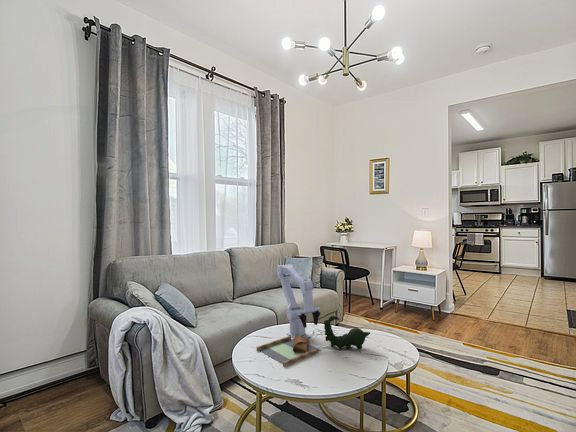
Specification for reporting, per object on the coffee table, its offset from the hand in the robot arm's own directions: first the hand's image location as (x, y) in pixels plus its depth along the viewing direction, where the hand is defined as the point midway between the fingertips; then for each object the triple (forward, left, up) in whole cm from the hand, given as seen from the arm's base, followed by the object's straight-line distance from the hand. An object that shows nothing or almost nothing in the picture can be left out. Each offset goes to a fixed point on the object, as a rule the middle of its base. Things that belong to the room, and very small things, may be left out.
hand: (310, 326), depth 185 cm
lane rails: (+17, -1, -10) cm, 19 cm away
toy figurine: (-11, +17, -10) cm, 23 cm away
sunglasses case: (+7, -1, -10) cm, 12 cm away
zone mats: (+14, -1, -10) cm, 17 cm away
